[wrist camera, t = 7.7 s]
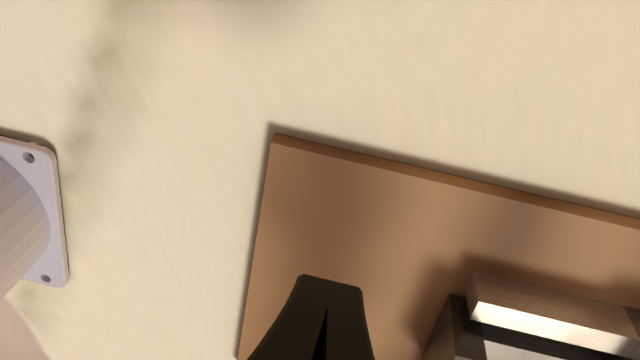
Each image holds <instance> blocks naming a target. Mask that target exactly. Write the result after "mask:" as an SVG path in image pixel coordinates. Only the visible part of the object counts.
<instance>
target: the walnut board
mask: <svg viewBox="0 0 640 360" xmlns="http://www.w3.org/2000/svg"><path fill="white" fill-rule="evenodd" d="M473 270H477V271H481V272H485V273H489V274H493V275H498V276H502V277H506V278H510V279H514V280H518V281H523V282H527V283H531V284H535V285H539V286H543V287H548V288H552V289H556V290H560V291H564V292H568V293H573V294H577V295H581V296H585V297H589V298H593V299H597V300H602V301H606V302H610V303H614V304H618V305H622V306H627V307H631V308H635V309H639V310H640V219H636V218H632V217H628V216H623V215H619V214H615V213H611V212H606V211H602V210H598V209H594V208H589V207H585V206H581V205H577V204H573V203H568V202H564V201H560V200H556V199H551V198H547V197H543V196H539V195H535V194H530V193H526V192H522V191H518V190H513V189H509V188H505V187H501V186H496V185H492V184H488V183H484V182H480V181H475V180H471V179H467V178H463V177H458V176H454V175H450V174H446V173H442V172H437V171H433V170H429V169H425V168H420V167H416V166H412V165H408V164H403V163H399V162H395V161H391V160H387V159H382V158H378V157H374V156H370V155H365V154H361V153H357V152H353V151H349V150H344V149H340V148H336V147H332V146H327V145H323V144H319V143H315V142H310V141H306V140H302V139H298V138H294V137H289V136H285V135H281V134H277V133H275V135H274V137H273V139H272V141H271V145H270V152H269V158H268V165H267V171H266V178H265V184H264V191H263V197H262V204H261V210H260V216H259V223H258V229H257V236H256V242H255V249H254V255H253V262H252V268H251V275H250V281H249V288H248V294H247V301H246V307H245V314H244V320H243V327H242V333H241V340H240V346H239V353H238V359H237V360H247V359H248V357H249V356H250V355H251V354H252V352H253V351H254V350H255V348H256V347H257V346H258V344H259V343H260V342H261V340H262V339H263V337H264V336H265V334H266V333H267V331H268V330H269V328H270V327H271V326H272V324H273V323H274V321H275V320H276V318H277V316H278V315H279V313H280V312H281V310H282V308H283V307H284V305H285V303H286V301H287V300H288V298H289V296H290V294H291V292H292V290H293V288H294V285H295V283H296V280H297V277H298V276H300V275H302V274H307V275H311V276H315V277H319V278H323V279H328V280H332V281H336V282H340V283H344V284H348V285H352V286H356V287H359V288H360V289H361V291H362V292H363V302H364V310H365V316H366V322H367V327H368V332H369V336H370V341H371V345H372V349H373V353H374V357H375V360H422V353H423V351H424V349H425V347H426V344H427V342H428V340H429V338H430V336H431V333H432V331H433V329H434V327H435V325H436V322H437V320H438V318H439V316H440V314H441V311H442V309H443V307H444V305H445V303H446V300H447V298H448V296H449V294H451V295H455V296H459V297H463V298H467V297H466V290H465V286H466V284H467V282H468V280H469V278H470V276H471V274H472V271H473Z"/></svg>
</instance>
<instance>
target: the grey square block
mask: <svg viewBox="0 0 640 360" xmlns="http://www.w3.org/2000/svg"><path fill="white" fill-rule="evenodd" d="M422 360H602V359H601V357H600V354H599V352H598V350H594V349H590V348H586V347H582V346H578V345H574V344H570V343H565V342H561V341H557V340H553V339H549V338H545V337H541V336H537V335H532V334H528V333H524V332H520V331H516V330H512V329H508V328H504V327H500V326H495V325H491V324H487V323H483V322H479V321H475V320H471V319H470V318H469V311H468V304H467V298H463V297H459V296H455V295H451V294H449V296H448V298H447V300H446V303H445V305H444V307H443V309H442V311H441V314H440V316H439V318H438V320H437V322H436V325H435V327H434V329H433V331H432V333H431V336H430V338H429V340H428V342H427V344H426V347H425V349H424V351H423V353H422Z"/></svg>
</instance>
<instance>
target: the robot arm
mask: <svg viewBox="0 0 640 360" xmlns="http://www.w3.org/2000/svg"><path fill="white" fill-rule="evenodd" d="M29 153H31V154H32V155H33V156H34V158H33V157H31V156H30V155H29ZM20 279H24V280H28V281H32V282H36V283H40V284H44V285H48V286H52V287H56V288H62V287H64V286H65V285H66V284H67V283H68V282H69V271H68V262H67V252H66V243H65V234H64V225H63V215H62V206H61V197H60V188H59V179H58V169H57V160H56V156H55V154H54V153H53V152H52V151H51V150H50V149H49V148H47V147H44V146H40V145H36V144H32V143H28V142H24V141H19V140H15V139H11V138H7V137H3V136H0V300H1V299H2V298H3V297H4V296H5V295H6V294H7V293H8V292H9V291H10V290H11V289H12V288H13V287H14V286H15V284H16V283H17V282H18V281H19V280H20ZM247 360H375V357H374V353H373V349H372V345H371V341H370V336H369V332H368V327H367V322H366V316H365V310H364V302H363V292H362V291H361V289H360V288H359V287H356V286H352V285H348V284H344V283H340V282H336V281H332V280H328V279H323V278H319V277H315V276H311V275H307V274H302V275H300V276H298V277H297V280H296V283H295V285H294V288H293V290H292V292H291V294H290V296H289V298H288V300H287V301H286V303H285V305H284V307H283V308H282V310H281V312H280V313H279V315H278V316H277V318H276V320H275V321H274V323H273V324H272V326H271V327H270V328H269V330H268V331H267V333H266V334H265V336H264V337H263V339H262V340H261V342H260V343H259V344H258V346H257V347H256V348H255V350H254V351H253V352H252V354H251V355H250V356H249V357H248V359H247Z"/></svg>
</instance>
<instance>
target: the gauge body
mask: <svg viewBox="0 0 640 360" xmlns="http://www.w3.org/2000/svg"><path fill="white" fill-rule="evenodd" d="M465 290H466V297H467V304H468V311H469V318H470V319H471V320H475V321H479V322H483V323H487V324H491V325H495V326H500V327H504V328H508V329H512V330H516V331H520V332H524V333H528V334H532V335H537V336H541V337H545V338H549V339H553V340H557V341H561V342H565V343H570V344H574V345H578V346H582V347H586V348H590V349H594V350H598V352H599V354H600V357H601V359H602V360H640V310H639V309H635V308H631V307H627V306H622V305H618V304H614V303H610V302H606V301H602V300H597V299H593V298H589V297H585V296H581V295H577V294H573V293H568V292H564V291H560V290H556V289H552V288H548V287H543V286H539V285H535V284H531V283H527V282H523V281H518V280H514V279H510V278H506V277H502V276H498V275H493V274H489V273H485V272H481V271H477V270H473V271H472V274H471V276H470V278H469V280H468V282H467V284H466V286H465Z"/></svg>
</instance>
